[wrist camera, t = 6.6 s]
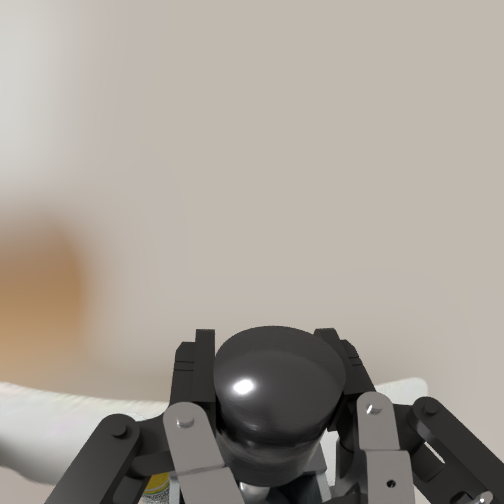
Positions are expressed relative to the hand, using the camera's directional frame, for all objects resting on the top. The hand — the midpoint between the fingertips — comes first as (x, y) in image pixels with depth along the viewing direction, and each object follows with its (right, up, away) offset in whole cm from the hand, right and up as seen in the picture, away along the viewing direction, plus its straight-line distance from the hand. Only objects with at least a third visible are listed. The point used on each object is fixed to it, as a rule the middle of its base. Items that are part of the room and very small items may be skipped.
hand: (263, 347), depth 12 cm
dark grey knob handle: (-1, -16, +4) cm, 16 cm away
